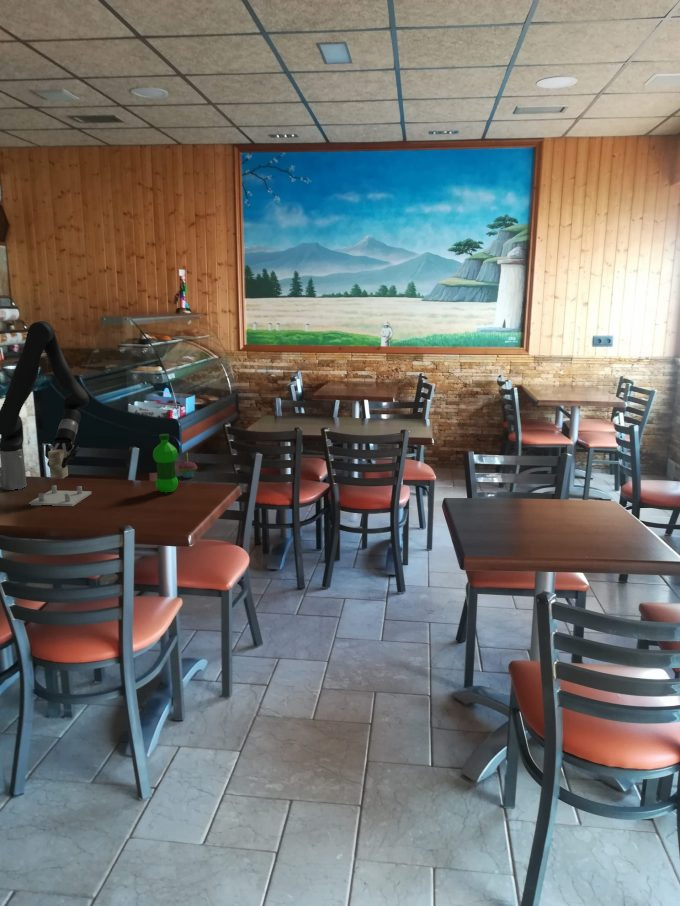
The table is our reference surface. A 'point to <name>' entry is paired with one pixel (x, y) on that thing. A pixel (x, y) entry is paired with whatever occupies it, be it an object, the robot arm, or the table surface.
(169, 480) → the plastic bottle
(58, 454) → the birch block
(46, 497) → the peg plate
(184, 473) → the cupcake
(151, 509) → the table surface
